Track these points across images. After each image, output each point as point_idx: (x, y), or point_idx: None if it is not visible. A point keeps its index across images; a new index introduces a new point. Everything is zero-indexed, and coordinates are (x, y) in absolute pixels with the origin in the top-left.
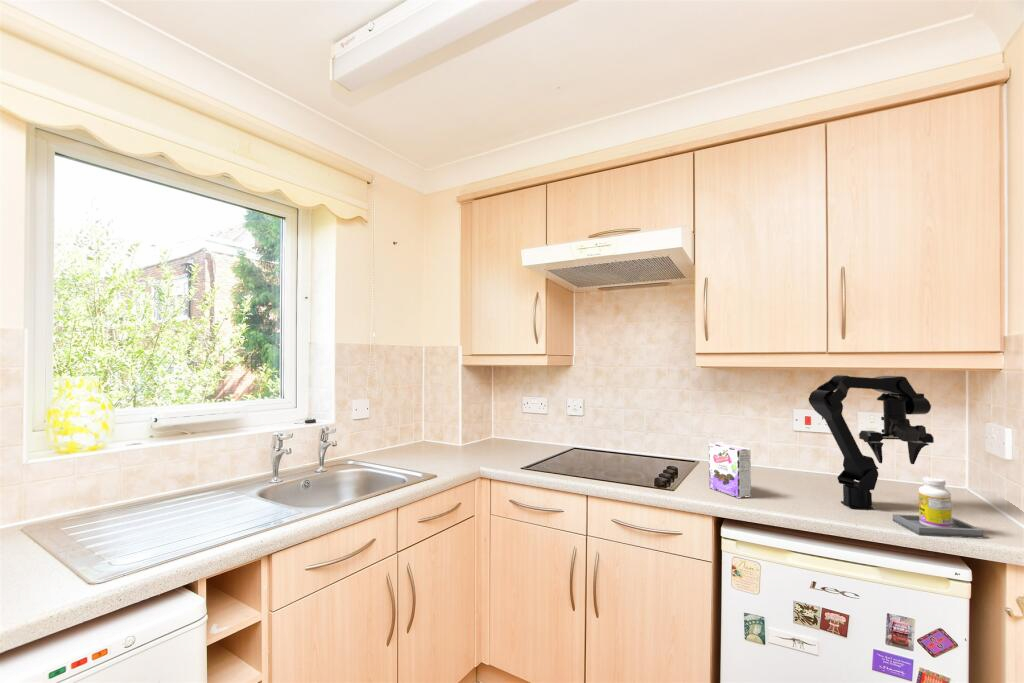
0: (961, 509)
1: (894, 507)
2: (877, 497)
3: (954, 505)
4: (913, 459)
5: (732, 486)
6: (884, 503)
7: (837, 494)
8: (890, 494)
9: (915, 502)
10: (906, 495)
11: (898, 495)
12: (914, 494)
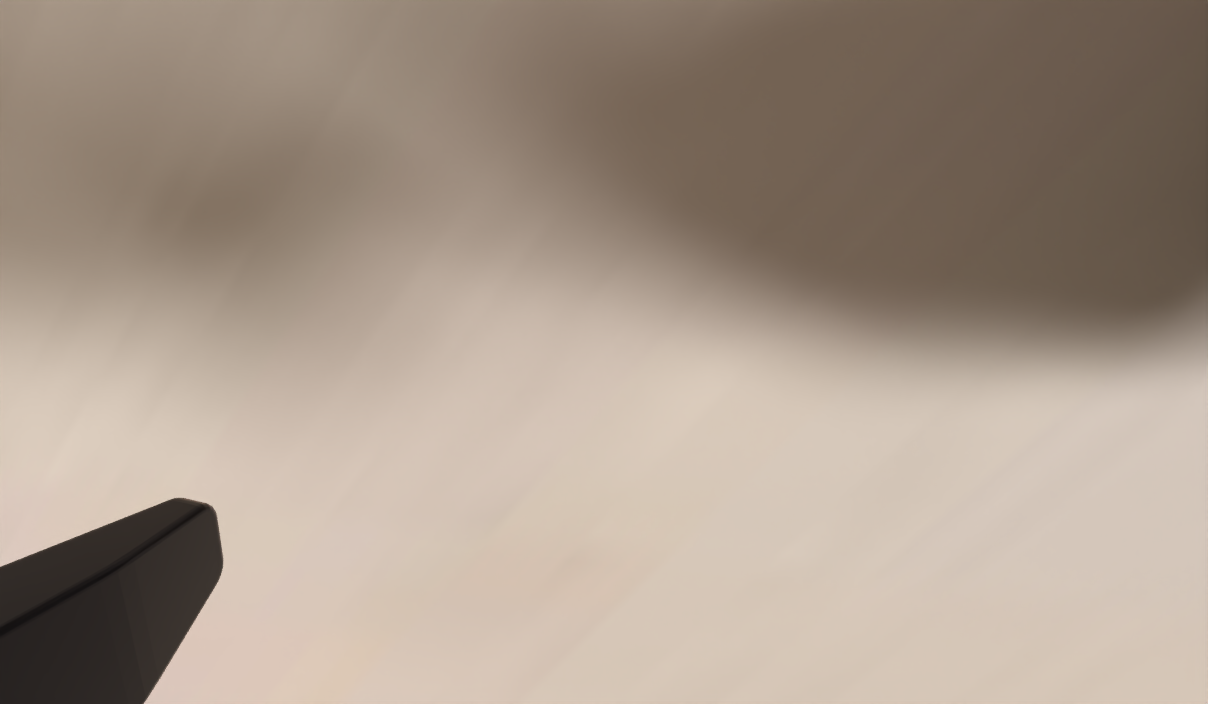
0: (98, 17)
1: (895, 96)
2: (750, 506)
3: (96, 176)
4: (99, 570)
5: None
6: (876, 280)
7: (1177, 662)
8: (512, 577)
9: (443, 300)
10: (372, 530)
11: (453, 539)
12: (274, 547)
